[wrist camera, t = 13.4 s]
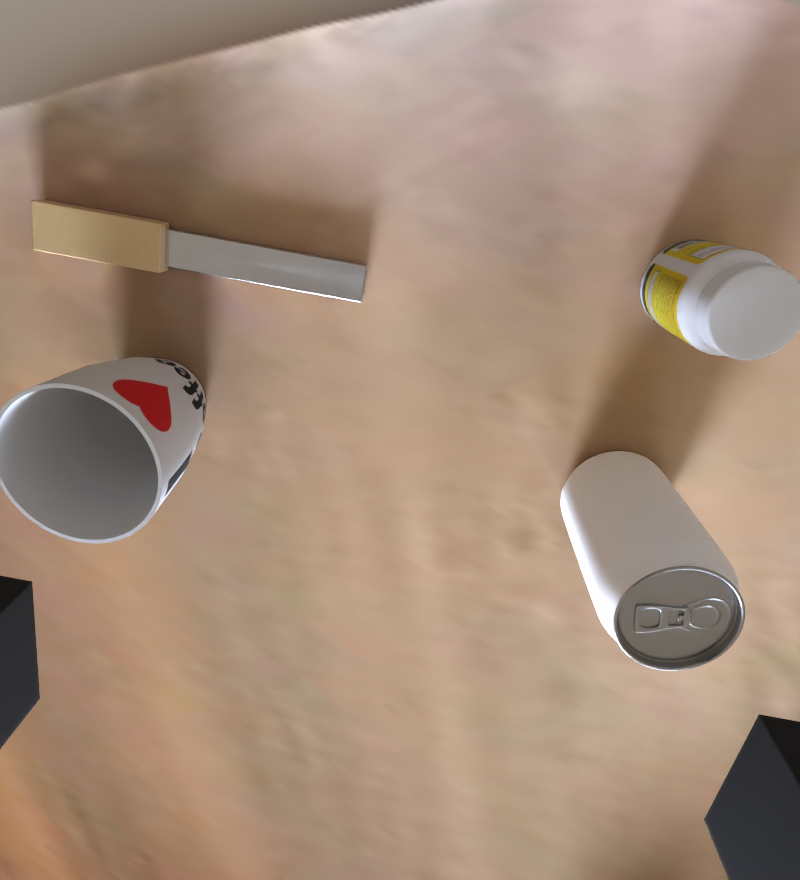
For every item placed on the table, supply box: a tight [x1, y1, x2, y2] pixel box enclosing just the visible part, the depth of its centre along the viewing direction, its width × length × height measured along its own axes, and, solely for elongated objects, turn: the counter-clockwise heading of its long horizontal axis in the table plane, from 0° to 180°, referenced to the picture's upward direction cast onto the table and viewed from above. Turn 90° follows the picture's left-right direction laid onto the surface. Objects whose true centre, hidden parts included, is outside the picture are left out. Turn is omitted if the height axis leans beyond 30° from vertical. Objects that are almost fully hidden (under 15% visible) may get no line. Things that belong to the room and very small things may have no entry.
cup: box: [0, 357, 206, 543], centre depth 34 cm, size 8×8×10 cm
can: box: [561, 451, 745, 671], centre depth 33 cm, size 6×6×12 cm
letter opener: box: [31, 199, 367, 302], centre depth 34 cm, size 18×3×1 cm, turn 80°
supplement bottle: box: [640, 240, 800, 360], centre depth 30 cm, size 5×5×8 cm
